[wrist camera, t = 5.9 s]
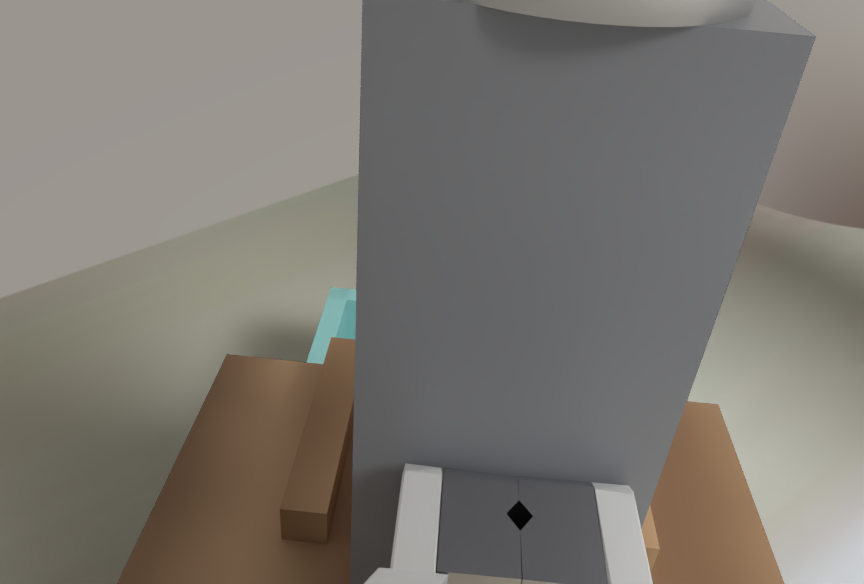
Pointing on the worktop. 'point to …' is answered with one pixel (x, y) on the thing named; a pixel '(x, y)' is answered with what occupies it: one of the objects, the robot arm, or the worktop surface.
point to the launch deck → (332, 489)
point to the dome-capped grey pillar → (549, 231)
